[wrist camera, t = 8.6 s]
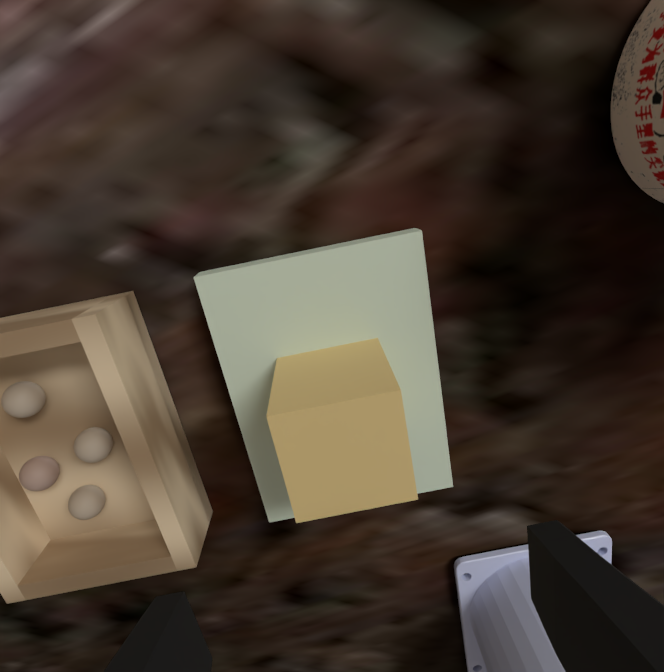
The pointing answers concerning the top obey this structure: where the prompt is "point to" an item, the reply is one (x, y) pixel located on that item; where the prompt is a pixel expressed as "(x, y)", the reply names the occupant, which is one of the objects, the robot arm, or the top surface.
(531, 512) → the top surface
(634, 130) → the teacup with lid
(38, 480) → the box
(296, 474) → the lid
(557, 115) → the top surface
